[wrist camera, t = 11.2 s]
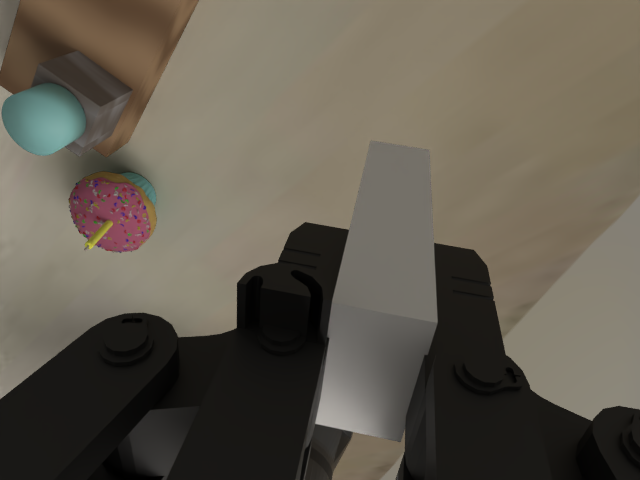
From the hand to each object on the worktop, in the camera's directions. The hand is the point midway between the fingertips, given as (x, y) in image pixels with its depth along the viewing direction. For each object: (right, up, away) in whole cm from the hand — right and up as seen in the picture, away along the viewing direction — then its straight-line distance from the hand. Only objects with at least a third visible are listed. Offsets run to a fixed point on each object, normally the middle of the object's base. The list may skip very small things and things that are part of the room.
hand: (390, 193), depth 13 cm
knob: (-21, +11, +29) cm, 37 cm away
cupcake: (-22, +4, +39) cm, 45 cm away
